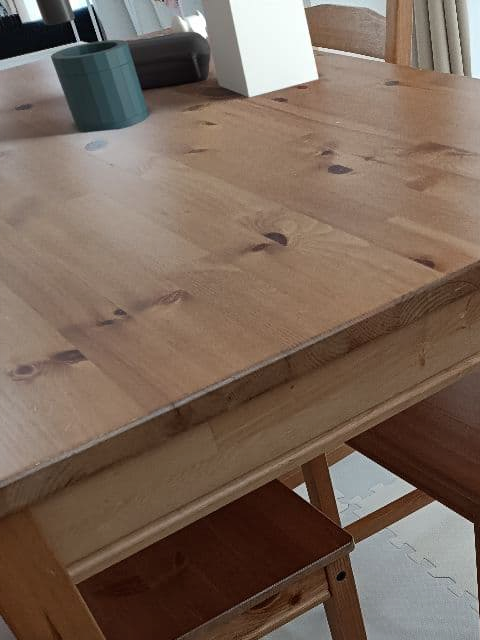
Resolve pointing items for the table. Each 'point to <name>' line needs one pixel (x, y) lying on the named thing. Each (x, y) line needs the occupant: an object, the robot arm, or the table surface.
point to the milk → (259, 44)
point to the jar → (100, 85)
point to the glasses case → (170, 59)
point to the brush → (55, 11)
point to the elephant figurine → (189, 24)
